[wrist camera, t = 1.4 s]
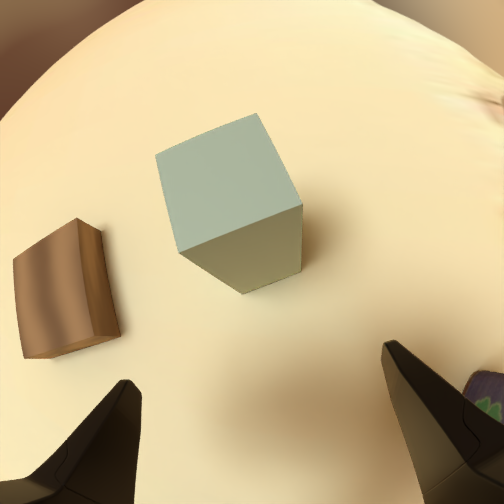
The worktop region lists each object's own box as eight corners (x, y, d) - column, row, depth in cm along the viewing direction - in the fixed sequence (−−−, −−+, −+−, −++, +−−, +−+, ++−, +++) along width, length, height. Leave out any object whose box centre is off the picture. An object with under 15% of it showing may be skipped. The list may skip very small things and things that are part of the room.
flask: (455, 462, 16) (514, 506, 6) (432, 461, 16) (488, 513, 6) (489, 370, 18) (567, 378, 8) (468, 367, 18) (548, 377, 8)
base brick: (49, 358, 24) (23, 358, 21) (36, 267, 28) (13, 259, 24) (120, 336, 24) (94, 335, 20) (100, 231, 27) (76, 217, 23)
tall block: (242, 294, 23) (178, 252, 11) (223, 238, 25) (155, 155, 12) (300, 271, 23) (302, 204, 11) (278, 217, 25) (256, 112, 12)
